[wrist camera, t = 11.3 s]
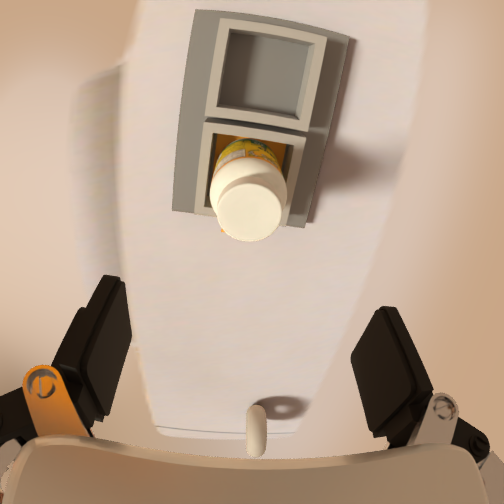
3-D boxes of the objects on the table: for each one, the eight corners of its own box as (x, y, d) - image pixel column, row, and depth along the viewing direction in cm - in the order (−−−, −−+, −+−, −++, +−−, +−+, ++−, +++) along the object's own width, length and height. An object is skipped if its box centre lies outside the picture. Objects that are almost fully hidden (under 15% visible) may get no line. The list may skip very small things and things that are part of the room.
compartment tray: (197, 12, 20) (188, 1, 16) (345, 37, 21) (362, 32, 18) (174, 205, 30) (164, 226, 26) (302, 222, 31) (310, 245, 28)
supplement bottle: (205, 156, 26) (187, 199, 18) (259, 126, 25) (266, 154, 17) (236, 203, 29) (234, 263, 21) (288, 177, 27) (307, 228, 19)
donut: (245, 394, 49) (246, 446, 40) (266, 394, 49) (269, 446, 40) (245, 419, 54) (245, 464, 46) (263, 419, 54) (265, 463, 46)
